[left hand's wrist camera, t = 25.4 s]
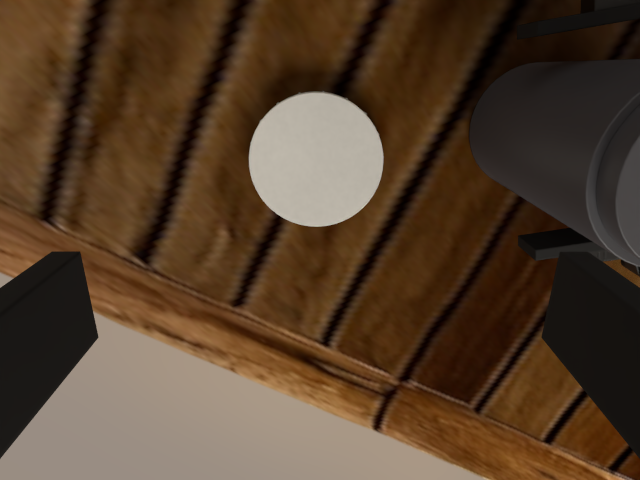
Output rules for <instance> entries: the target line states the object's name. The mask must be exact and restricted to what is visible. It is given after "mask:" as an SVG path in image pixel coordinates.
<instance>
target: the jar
mask: <svg viewBox="0 0 640 480" xmlns="http://www.w3.org/2000/svg"><path fill="white" fill-rule="evenodd" d="M469 138H470V146H471V150H472V154H473V156H474V158H475V160H476V162H477V164H478V165H479V167H480V168H481V169H482V170H483V172H484V173H485V174H487V175H488V176H489V177H490V178H492V179H493V180H495V181H497V182H498V183H500V184H501V185H503V186H505V187H506V188H508V189H509V190H511V191H513V192H514V193H516V194H517V195H519V196H521V197H522V198H524V199H525V200H527V201H529V202H530V203H532V204H533V205H535V206H537V207H538V208H540V209H541V210H543V211H545V212H546V213H548V214H549V215H551V216H553V217H554V218H556V219H557V220H559V221H561V222H562V223H564V224H565V225H567V226H569V227H570V228H572V229H573V230H575V231H577V232H578V233H580V234H581V235H583V236H585V237H586V238H588V239H589V240H591V241H593V242H594V243H596V244H597V245H599V246H601V247H602V248H604V249H605V250H607V251H608V252H610V253H612V254H613V255H615V256H617V257H618V258H620V259H622V260H623V261H625V262H628V263H630V264H632V265H635V266H639V267H640V59H626V60H595V61H565V62H536V63H529V64H525V65H521V66H518V67H516V68H514V69H511V70H510V71H508V72H506V73H504V74H503V75H502V76H500V77H499V78H498V79H496V80H495V81H494V82H493V83H492V84H491V85H490V86H489V87H488V88H487V90H486V91H485V92H484V93H483V95H482V96H481V98H480V99H479V101H478V103H477V105H476V107H475V109H474V112H473V115H472V119H471V123H470V131H469Z"/></svg>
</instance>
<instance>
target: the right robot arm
mask: <svg viewBox="0 0 640 480" xmlns="http://www.w3.org/2000/svg"><path fill="white" fill-rule="evenodd" d="M634 19H640V0H581V14H577V15H571V16H565V17H560V18H554V19H548V20H542V21H537V22H532V23H528V24H523V25H519V26H517V39H523V38H530V37H536V36H542V35H548V34H554V33H560V32H565V31H571V30H577V29H582V28H588V27H594V26H600V25H605V24H611V23H617V22H623V21H628V20H634ZM518 246H519V247H521V248H522V249H523V250H524V251H525V252H526V253H527V254H529V255H530V256H531V257H532V258H533V259H534V260H535V261H536V260H543V259H550V258H557V257H559V254H560V252H589V253H590V254H592V255H593V256H595V257H596V258H598V259H599V260H600V261H602V262H603V261H610V260H617V259H620V258H618V257H617V256H615V255H613V254H612V253H610V252H608V251H607V250H605V249H604V248H602V247H601V246H599V245H597V244H596V243H594V242H593V241H591V240H589V239H588V238H586V237H585V236H583V235H581V234H580V233H578V232H577V231H575V230H573V229H572V228H566V229H559V230H553V231H546V232H539V233H533V234H526V235H520V236H518ZM621 264H622V265H623V266H624V267H625V268H627V269H629V270H630V271H632V272H633V273H635V274H636V275H638V276H639V277H640V267H639V266H635V265H632V264H630V263H628V262H625V261H623V260H622V259H621Z"/></svg>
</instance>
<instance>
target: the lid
mask: <svg viewBox="0 0 640 480" xmlns="http://www.w3.org/2000/svg"><path fill="white" fill-rule="evenodd" d="M259 122H260V123H259V125H258V127H257V128H256V130H255V133H254V135H253V138H252V141H251V142H250V144H251V145H250V151H249V168H250V174H251V177H252V181H253V184H254V186H255V188H256V190H257V192H258V194H259V195H260V197H261V198H262V200H263V201H264V202H265V203H266V205H267V206H268V207H269V208H270V209H271V210H273V211H274V212H275V213H277V214H278V215H279V216H281V217H283V218H284V219H286V220H289V221H291V222H293V223H297V224H300V225H305V226H317V227H318V226H328V225H332V224H336V223H339V222H342V221H344V220H346V219H348V218H350V217H352V216H353V215H355V214H356V213H357V212H359V211H360V210H361V209H362V208H363V207H364V206H365V205H366V204H367V203H368V202H369V200H370V199H371V197H372V196H373V195H374V193H375V191H376V189H377V187H378V185H379V182H380V179H381V175H382V171H383V158H384V156H383V149H382V144H381V140H380V137H379V133H378V132H377V130H376V128H375V126H374V125H373V123H372V122H371V120H370V119H369V118H368V116H367V113H366V112H363V111H362V110H361V109H360V108H359V107H357V106H356V105H355V104H354V103H352V102H351V101H349V100H348V98H343V97H341V96H339V95H336V94H333V93H328V92H324V91H323V92H318V91H313V92H304V93H300V92H299V93H298V94H296V95H294V96H291V97H289V98H287V99H285V100H283V101H281V102H280V103H279V102H278V103H277V104H276V106H275V107H273V108H272V109H271V110H270V111H269V112H268V113H267V114H266V115H265V116H264V118H263V119H261V120H260V121H259Z"/></svg>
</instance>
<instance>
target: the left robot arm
mask: <svg viewBox="0 0 640 480" xmlns="http://www.w3.org/2000/svg"><path fill="white" fill-rule="evenodd" d="M97 338H98V333H97V329H96V324H95V319H94V314H93V310H92V305H91V300H90V296H89V291H88V286H87V282H86V277H85V272H84V268H83V263H82V258H81V254H80V252H51V253H50V254H48V255H47V256H45V257H44V258H42V259H41V260H40V261H38V262H37V263H35V264H34V265H32V266H31V267H30V268H28V269H27V270H25V271H24V272H22V273H21V274H20V275H18V276H17V277H15V278H14V279H12V280H11V281H10V282H8V283H7V284H5V285H4V286H2V287H1V288H0V458H1V457H2V456H3V455H4V453H5V452H6V451H7V450H8V448H9V447H10V446H11V445H12V443H13V442H14V441H15V440H16V438H17V437H18V436H19V435H20V434H21V432H22V431H23V430H24V429H25V427H26V426H27V425H28V424H29V422H30V421H31V420H32V419H33V418H34V416H35V415H36V414H37V413H38V411H39V410H40V409H41V408H42V406H43V405H44V404H45V403H46V401H47V400H48V399H49V398H50V397H51V395H52V394H53V393H54V391H55V390H56V389H57V388H58V387H59V385H60V384H61V383H62V382H63V380H64V379H65V378H66V377H67V375H68V374H69V373H70V372H71V371H72V369H73V368H74V367H75V366H76V364H77V363H78V362H79V361H80V359H81V358H82V357H83V356H84V354H85V353H86V352H87V351H88V350H89V348H90V347H91V346H92V345H93V343H94V342H95V341H96V340H97ZM542 339H543V340H544V341H545V342H546V343H547V345H548V346H549V347H550V348H551V350H552V351H553V352H554V353H555V355H556V356H557V357H558V358H559V360H560V361H561V362H562V363H563V364H564V366H565V367H566V368H567V369H568V371H569V372H570V373H571V374H572V376H573V377H574V378H575V379H576V380H577V382H578V383H579V384H580V385H581V387H582V388H583V389H584V390H585V392H586V393H587V394H588V395H589V397H590V398H591V399H592V400H593V401H594V403H595V404H596V405H597V406H598V408H599V409H600V410H601V411H602V413H603V414H604V415H605V416H606V418H607V419H608V420H609V421H610V422H611V424H612V425H613V426H614V427H615V429H616V430H617V431H618V432H619V434H620V435H621V436H622V437H623V438H624V440H625V441H626V442H627V443H628V445H629V446H630V447H631V448H632V450H633V451H634V452H635V453H636V455H637V456H638V457H639V458H640V288H639V287H638V286H636V285H635V284H633V283H632V282H630V281H629V280H628V279H626V278H625V277H623V276H622V275H620V274H619V273H618V272H616V271H615V270H613V269H612V268H610V267H609V266H608V265H606V264H605V263H603V262H602V261H600V260H599V259H598V258H596V257H595V256H593V255H592V254H590V253H589V252H560V254H559V258H558V263H557V268H556V272H555V277H554V282H553V286H552V291H551V296H550V300H549V305H548V310H547V314H546V319H545V324H544V329H543V333H542Z"/></svg>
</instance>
